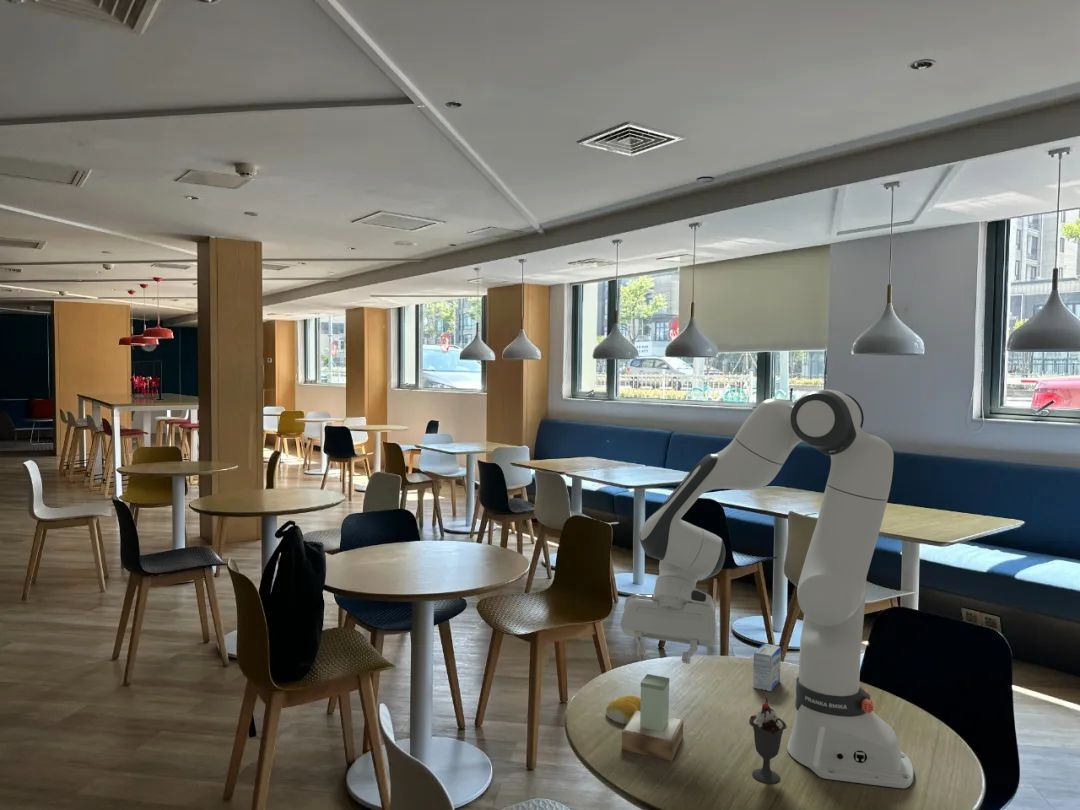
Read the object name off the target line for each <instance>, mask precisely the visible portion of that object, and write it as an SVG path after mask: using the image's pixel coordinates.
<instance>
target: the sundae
mask: <svg viewBox="0 0 1080 810" xmlns="http://www.w3.org/2000/svg"><path fill="white" fill-rule="evenodd" d="M762 694H763V696H764V697H765V703H764V704H762V705H761V709H760V710H759V711H758V712H757V714H755V715H751V716H750V717H749V720H748V721H749V722H748V723H749V725H750V726H751V727H752V729H753V736H754V747H755V750H756V753H757V754H758V755H759V756H760V757H761V758H762V759H763V763H762V768H761V767H760V768H756V769H754V770H753V771H752V772H751V775H752V777H753V778H754V779H755V780H756V781H757V782H760V783H764V784H767V785H770V784H771V785H772V784H777V783H778V782H780V780H781V777H780V775H779V774H778V773H777V772H776V771H774V770H771V760H772V759H773V758H775V757H776V756H777V755H778V754H779V751H780V747H781V742H782V738H783V737H782V736H783V733H784V730H786V729H787V728H788V726H787V724H786V722H785V721H784V720H783V719H782V718H779V717H778V716H777V713H776V711H774V709H772V708H771V707H770V705H769V703H768V698H767V696H766V692H764V691H763V693H762Z"/></svg>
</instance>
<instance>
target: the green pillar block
mask: <svg viewBox="0 0 1080 810" xmlns="http://www.w3.org/2000/svg"><path fill="white" fill-rule="evenodd" d="M640 699H641V707H640V727H641V728H646V729H651V730H655V731H660V732H663V730H664V729H665V727H666V725H667V724H668V717H669V715H670V714H669V710H670V709H669V707H670V704H669V703H670V700H669V699H670V677H665V676H661V675H660V676H659V675H655V674H649V673H647V674H646V675H645V676H644V677H643V678H642V680H641V681H640Z"/></svg>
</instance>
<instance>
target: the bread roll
mask: <svg viewBox="0 0 1080 810" xmlns="http://www.w3.org/2000/svg"><path fill="white" fill-rule="evenodd" d="M640 707H641V697H637V696H635V695H626V696H620V697H618V698H616V699H615V700H612V701H610V702H609V703H608V704H607V706H606V709H605V713H606V715H607V717H608V719H610V720H611V719H612V721H614V722H615V723H617V722H618V723H617V724H620V723H621V724H620V725H627V723H628V722H629V720H630V719H631V717H632V716H633V714H634V713H635V711H640Z"/></svg>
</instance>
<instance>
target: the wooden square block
mask: <svg viewBox="0 0 1080 810" xmlns="http://www.w3.org/2000/svg"><path fill="white" fill-rule="evenodd" d="M682 738H684V720H683V719H679V718H674V717H670V716H668V724H667V725H666V727H665V729H664V730H663V732H660V731H655V730H651V729H646V728H641V727H640V711H635V713H634V714H633V716H632V717H631V719H630V720H629V722H628V723H627V724H625V726H624V728H623V730H622V733H621V750H623V751H628V752H632V753H635V752H636V754H640V755H645V756H650V757H654V758H659V759H662V760H667V761H670V760H672V761H673V760H674V758H673V757H675V756H676V754H675V753H677V752H678V749H679V747H680V745H681V743H680V742H682V741H681V740H683V739H682ZM679 744H680V745H679ZM677 748H678V749H677ZM674 755H675V756H674Z"/></svg>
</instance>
